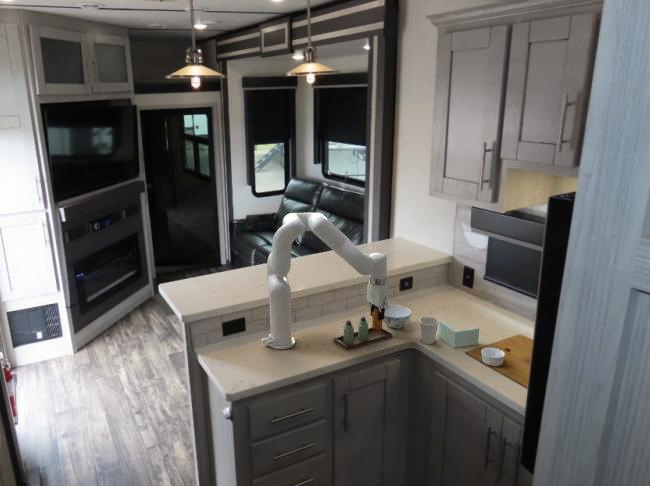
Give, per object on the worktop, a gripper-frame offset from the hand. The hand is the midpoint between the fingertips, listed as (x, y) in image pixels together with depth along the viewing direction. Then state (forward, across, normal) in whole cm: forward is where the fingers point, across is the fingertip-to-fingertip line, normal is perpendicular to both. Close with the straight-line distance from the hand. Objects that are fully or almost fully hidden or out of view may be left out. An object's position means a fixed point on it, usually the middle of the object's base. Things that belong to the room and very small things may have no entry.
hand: (377, 316), depth 234 cm
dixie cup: (+10, +16, +16) cm, 24 cm away
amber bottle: (+5, 0, 0) cm, 5 cm away
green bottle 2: (+9, 0, -8) cm, 12 cm away
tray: (+9, 0, -8) cm, 12 cm away
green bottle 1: (+9, 0, -16) cm, 18 cm away
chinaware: (+10, -4, +14) cm, 17 cm away
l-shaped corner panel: (+10, +22, +28) cm, 37 cm away
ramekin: (+10, +43, +25) cm, 51 cm away
